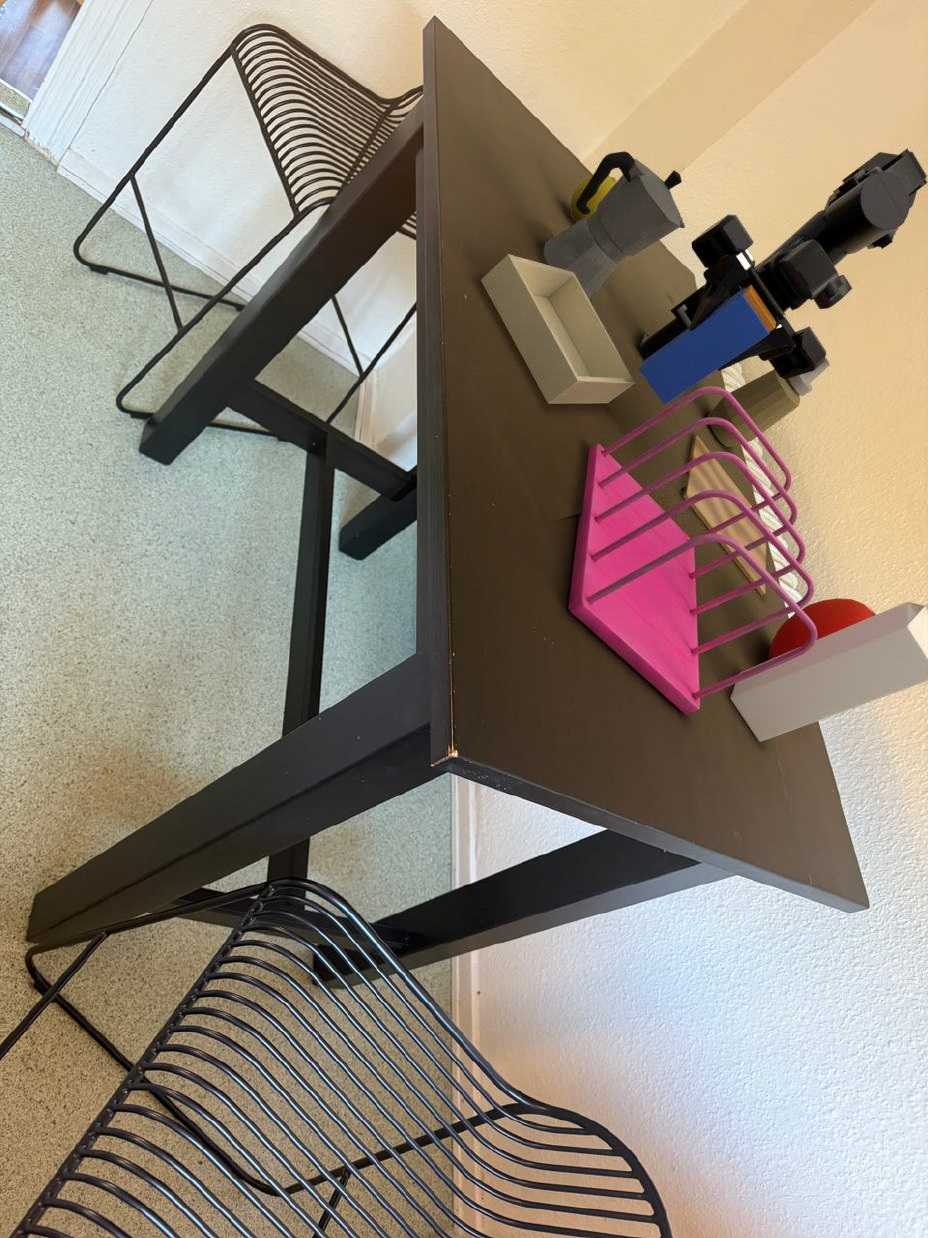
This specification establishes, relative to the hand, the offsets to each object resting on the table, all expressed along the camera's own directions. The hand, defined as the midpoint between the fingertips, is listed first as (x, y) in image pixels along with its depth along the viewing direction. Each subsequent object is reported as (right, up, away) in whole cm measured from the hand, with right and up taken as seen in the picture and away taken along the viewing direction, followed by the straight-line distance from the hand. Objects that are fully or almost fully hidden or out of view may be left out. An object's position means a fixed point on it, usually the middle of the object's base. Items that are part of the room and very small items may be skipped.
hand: (705, 348), depth 89 cm
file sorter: (-9, -25, -5) cm, 27 cm away
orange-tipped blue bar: (-4, -2, +5) cm, 7 cm away
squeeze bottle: (+13, 0, +39) cm, 41 cm away
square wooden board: (+10, -15, +25) cm, 31 cm away
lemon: (-10, +30, +33) cm, 45 cm away
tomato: (+12, -36, +12) cm, 39 cm away
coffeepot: (-14, +16, +18) cm, 28 cm away
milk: (+5, -39, +2) cm, 39 cm away
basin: (-17, +2, +4) cm, 17 cm away
